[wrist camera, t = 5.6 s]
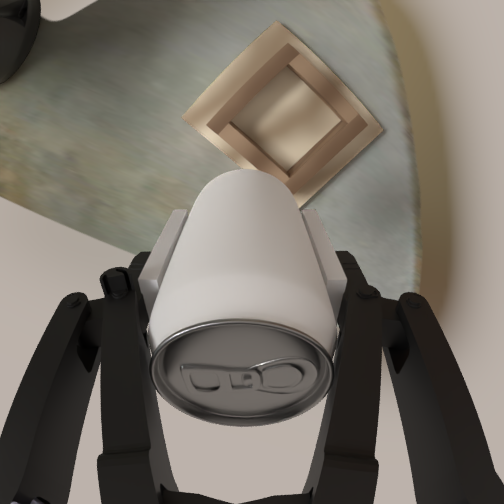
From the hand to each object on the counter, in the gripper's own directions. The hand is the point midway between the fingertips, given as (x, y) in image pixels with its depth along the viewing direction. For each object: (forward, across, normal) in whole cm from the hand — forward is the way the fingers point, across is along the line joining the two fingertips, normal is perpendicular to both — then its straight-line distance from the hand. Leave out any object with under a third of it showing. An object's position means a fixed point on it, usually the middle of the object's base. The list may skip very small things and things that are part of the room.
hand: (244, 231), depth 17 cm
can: (+2, 0, 0) cm, 2 cm away
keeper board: (+17, +4, +4) cm, 18 cm away
